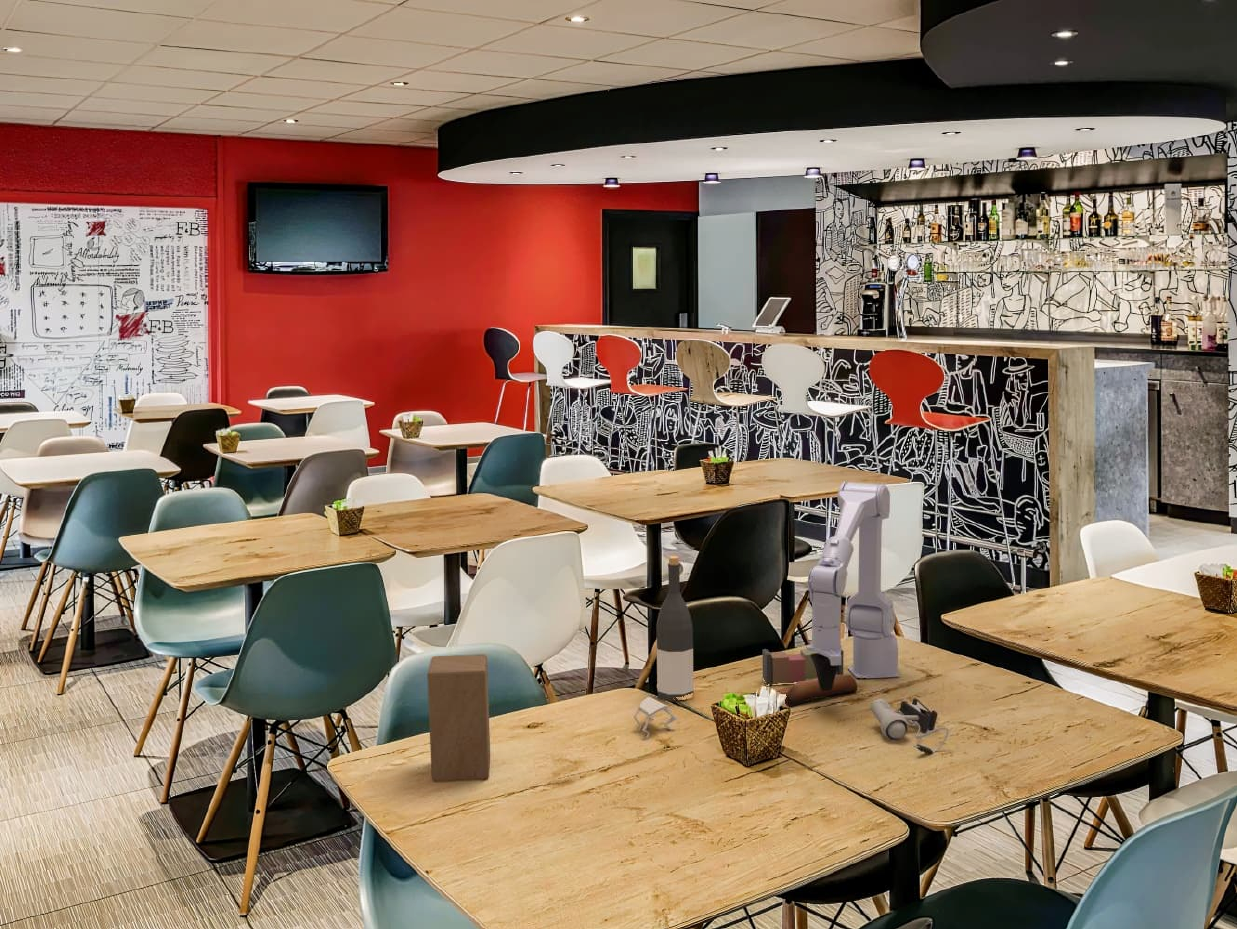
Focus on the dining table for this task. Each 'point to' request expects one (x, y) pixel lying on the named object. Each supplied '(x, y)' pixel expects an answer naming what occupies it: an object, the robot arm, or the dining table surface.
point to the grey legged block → (653, 712)
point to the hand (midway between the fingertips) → (825, 689)
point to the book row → (790, 667)
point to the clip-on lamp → (906, 720)
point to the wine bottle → (674, 641)
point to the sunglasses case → (816, 689)
